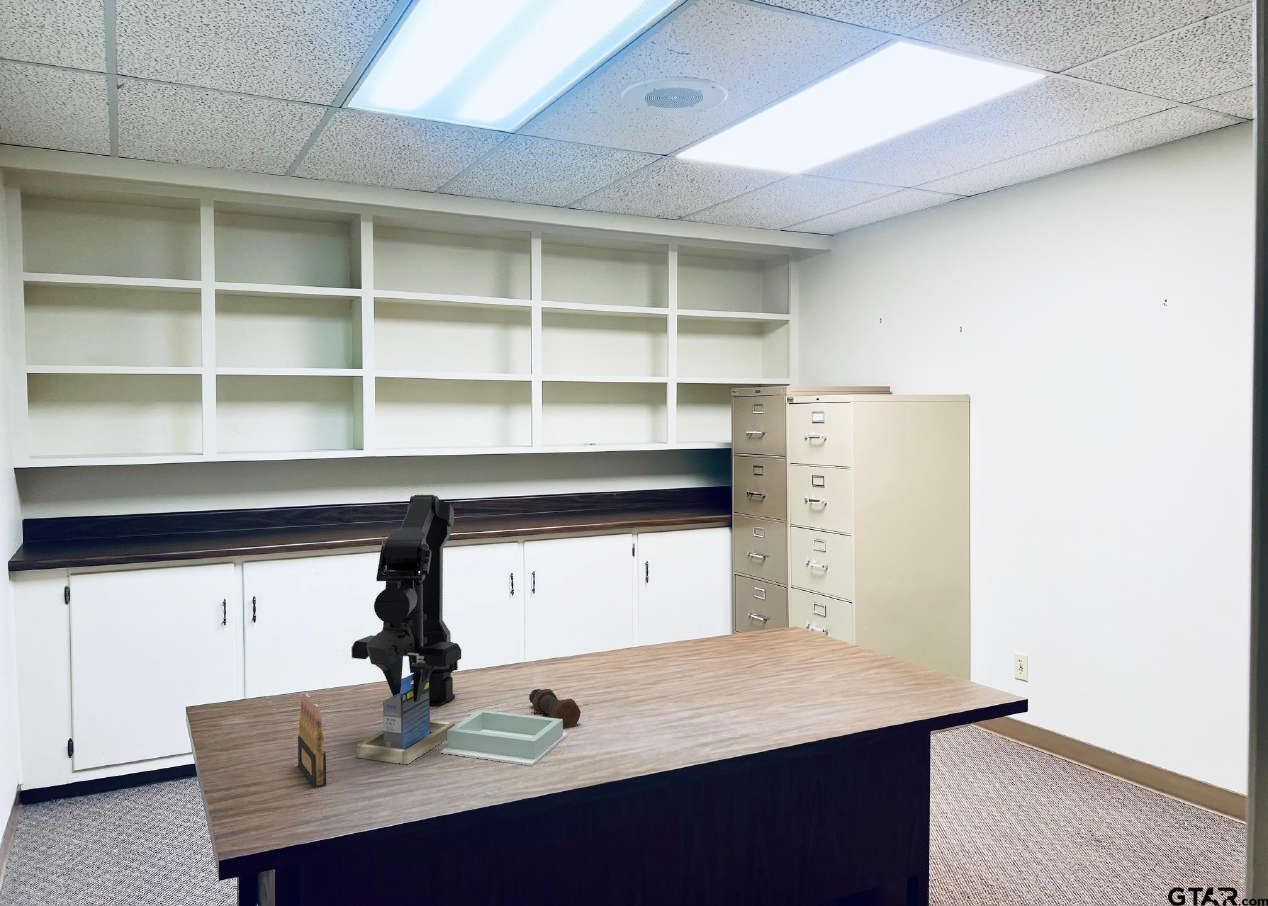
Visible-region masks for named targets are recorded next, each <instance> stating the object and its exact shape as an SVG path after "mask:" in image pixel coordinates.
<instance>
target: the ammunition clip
mask: <svg viewBox="0 0 1268 906" xmlns="http://www.w3.org/2000/svg"><path fill="white" fill-rule="evenodd" d="M299 715H300V716H299V719H298V720H299V723H298V725H299V726H298V727H299V729H298V731H299V735H298V736H297V752H298V753H297V760H298V761H297V766H299V767H298V768H299V769H300V771H301V772H302V773H304V774H303V775H304V776H305V779H307V780H309V781H310V782H309V781H308V782H309V784H310V785H311V786H312V788H313V787H314V788H313V789H317V788H320V786H322V787H326V786H327V760H326V758H327V756H326V755H327V754H326V751H325V734H324V730H323V719H322V718H323V717H322V713H321V710H320V708H319V707H318V706H317V705H316V704H315V702H314V701H312V700H311V699H310V698H309V696H308V695H306V693H303V694H302V697H301V700H300V714H299ZM325 785H326V786H325ZM316 787H317V788H316Z"/></svg>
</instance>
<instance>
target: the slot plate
mask: <svg viewBox="0 0 1268 906" xmlns="http://www.w3.org/2000/svg"><path fill="white" fill-rule="evenodd" d="M563 730H564V729H563V719H556V718H551V717H547V716H537V715H528V714H520V713H512V712H504V711H503V712H502V711H494V710H485V709H478V710H476V712H474V713H473V714H471V715H470V716H468V717H466V718H465V719H463V720H462V721H459V722H458V723H457V724H455V726H454V727H452V728H450V729H449V730H447V732H448V739H447V746H446V747H445V748H443V749H442V750H440V754H441V753H443V754H442V755H448V754H452V755H451V756H455V755H458V756H457V757H462V756H465V757H464V758H471V759H477V758H479V759H478V760H484V759H488V760H487V761H492V760H493V761H494V762H499V761H500V762H501V763H507V764H516V765H521V764H522V765H524V766H529V767H533V766H534V765H535V764H536V763H537V762H538V761H541V759H542V758H543V757H544V756H546V755H547V754H548V753H549V752H550V751H551V750H552V749H554V748H555V747H557V745H559V744H560V743H561V742H562V741H563V740H564V739H566V737H568V736H569V732H567V731H566V732H565V731H563Z"/></svg>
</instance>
